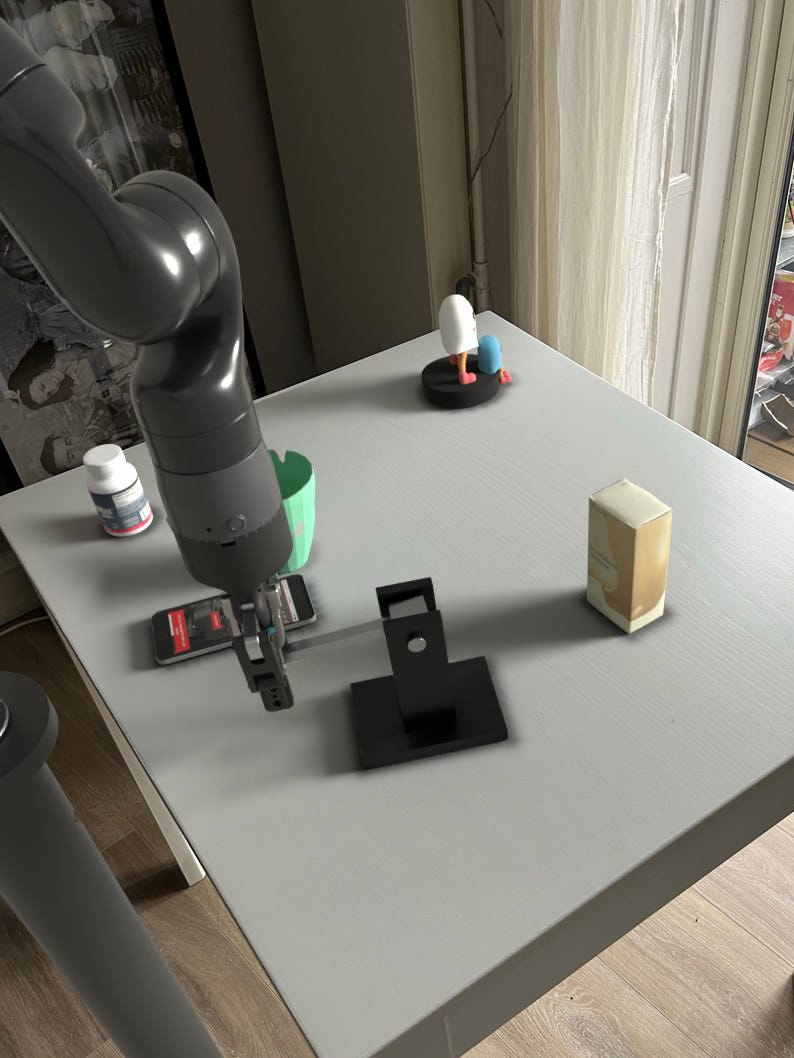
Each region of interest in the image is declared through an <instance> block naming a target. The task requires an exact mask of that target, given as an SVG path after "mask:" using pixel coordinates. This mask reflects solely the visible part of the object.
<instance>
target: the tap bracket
mask: <svg viewBox="0 0 794 1058" xmlns="http://www.w3.org/2000/svg"><path fill="white" fill-rule="evenodd" d="M434 589H435V588H434V582H433V579H432V577H431V576H428V577H422V578H417V579H413V580H407V581H402V582H397V583H391V584H388V585H382V586H381V585H380V586H377V587H375V593H376V598H377V599H376V600H377V603H378V609H379V614H380V618H384V617H387V616H390V611H389V607H388V604H391V603H395V602H398V601H402V600H406V599H409V598H413V597H417V596H420V595H423V596H424V600H425V603H426V607H427V610H428V612H425V613H420V614H415V615H410V616H405V617H400V618H395V619H390V620H385V621H382V623H383V628H384V633H385V636H384V638H385V642H386V647H387V652H388V657H389V662H390V667H391V671H392V674H389V675H384V676H379V677H374V678H369V679H364V680H359V681H355V682H349V687H350V688H349V689H350V694H351V700H352V707H353V712H354V719H355V726H356V733H357V739H358V745H359V751H360V757H361V763H362V767H363V770H364V771H367V770H372V769H376V768H381V767H385V766H391V765H395V764H399V763H404V762H405V763H406V762H408V761H409V762H410V761H412V760H418V759H423V758H428V757H431V756H437V755H442V754H446V753H447V754H448V753H451V752H455V751H460V750H465V749H470V748H474V747H479V746H484V745H488V744H489V745H490V744H493V743H498V742H503V741H508V740H509V731H508V727H507V723H506V719H505V717H504V714H503V711H502V707H501V703H500V700H499V697H498V694H497V691H496V688H495V683H494V681H493V677H492V674H491V671H490V668H489V664H488V661H487V658H486V656H485V655H481V656H476V657H471V658H467V659H462V660H455V661H452V662H450V661H449V655H448V649H447V641H446V634H445V627H444V620H443V615H442V612H441V610H440V609H437V602H436V595H435V590H434Z"/></svg>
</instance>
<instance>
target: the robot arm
mask: <svg viewBox="0 0 794 1058" xmlns="http://www.w3.org/2000/svg"><path fill="white" fill-rule="evenodd" d="M88 122H89V120H88V114H87V111H86V109H85V107H84V105H83V103H82V102H81V99H79V98H78V96H77V95H76V93H75V92H74V91H73V90H72V89H71V88H70V86H68V84H67V83H66V82H65V81H64V79H62V78H61V76H60V75H58V74H57V72H56V71H55V70H54V69H52V67H51V66H49V65H48V64H47V62H46V61H44V59H43V58H41V56H40V55H39V54H38V52H36V51H35V50H34V49H33V48H32V47H31V46H30V45H29V44H28V43H27V42H26V41H25V40H24V39H23V37H21V36H20V35H19V34H18V33H17V32H16V31H15V30H14V29H13V28H12V27H11V25H9V24H8V23H7V22H6V20H4V19H3V17H1V16H0V220H1V221H2V223H3V224H4V226H5V227H6V229H7V230H8V231H9V233H10V234H11V236H12V237H13V238H14V239H15V241H16V242H17V243H18V244H19V246H20V248H21V249H22V250H23V252H24V253H25V255H26V256H27V257H28V259H29V260H30V262H31V263H32V264H33V266H34V267H35V268H36V270H37V271H38V273H39V274H40V275H41V277H42V278H43V280H44V281H45V282H46V284H47V285H48V286H49V288H50V289H51V290H52V291H53V293H54V294H55V295H56V296H57V298H58V299H59V301H61V302H62V303H63V305H64V306H65V307H66V308H67V309H68V310H69V311H70V312H71V313H72V314H73V315H75V316H76V317H77V318H78V319H79V320H80V321H82V322H83V323H84V324H85V325H87V326H88V327H89V328H91V329H92V330H95V331H96V332H98V333H99V334H102V335H103V336H105V337H107V338H109V339H112V340H115V341H117V342H120V343H122V344H126V345H131V346H139V347H141V350H140V354H139V355H138V358H137V360H136V363H135V365H134V368H133V369H132V372H131V375H130V379H129V380H130V381H129V395H130V399H131V404H132V407H133V410H134V413H135V417H136V419H137V422H138V425H139V428H140V431H141V433H142V436H143V440H144V442H145V445H146V448H147V450H148V453H149V456H150V458H151V462H152V465H153V470H154V471H153V472H154V477H155V481H156V487H157V490H158V493H159V496H160V499H161V502H162V505H163V507H164V510H165V514H166V517H167V516H168V519H169V522H170V524H171V527H172V530H173V532H172V533H173V536H174V538H175V541H176V544H177V546H178V549H179V552H180V556H181V558H182V561H183V563H184V566H185V568H186V571H187V573H188V574H189V576H191V578H192V579H194V581H196V582H197V583H199V584H201V585H203V586H205V587H208V588H212V589H216V590H219V591H222V592H220V594H219V595H220V596H221V603H222V607H223V611H224V614H225V616H226V617H227V618H228V619H229V620H230V624H231V628H232V632H233V636H234V637H233V642H232V646H231V649H232V650H234V653H235V655H236V658H237V661H238V663H239V665H240V668H241V670H242V673H243V675H244V677H245V680H246V683H247V688H248V690H250V693H251V694H257V693H259V695H260V698H261V701H262V704H263V707H264V710H265V712H268V713H274V712H280V711H284V710H288V709H292V708H293V707H294V705H295V699H294V694H293V691H292V687H291V684H290V680H289V678H288V674H287V671H288V666H287V663H286V664H285V663H284V659H283V655H282V651H281V647H282V646H283V645H285V644H289V640H288V637H287V634H286V633H287V632H286V631H285V629H284V626H283V622H282V619H281V615H280V613H281V609H280V608H282V606H281V602H280V601H281V600H282V597H281V591H280V584H279V580H278V579H279V574H278V573H277V572H278V571H280V570H281V569H282V568H283V567H284V565H285V564H286V563H287V562H288V560H289V558H290V556H291V554H292V550H293V539H292V535H291V531H290V527H289V523H288V519H287V515H286V512H285V508H284V504H283V500H282V496H281V492H280V488H279V484H278V480H277V476H276V472H275V468H274V465H273V462H272V459H271V456H270V453H269V451H268V447H267V444H266V442H265V440H264V437H263V434H262V431H261V426H260V423H259V419H258V415H257V411H256V407H255V403H254V399H253V396H252V392H251V389H250V386H249V383H248V379H247V377H246V371H245V370H246V369H245V355H244V354H245V351H244V350H245V328H244V325H245V324H244V312H243V311H244V310H243V309H244V308H243V293H242V280H241V271H240V264H239V257H238V253H237V249H236V244H235V240H234V238H233V235H232V232H231V229H230V226H229V224H228V223H227V221H226V219H225V216H224V214H223V213H222V211H221V210H220V208H219V206H218V205H217V203H216V202H215V200H214V199H213V198H212V196H211V195H210V194H209V193H208V192H207V191H206V190H205V189H204V188H203V187H202V186H200V185H199V184H198V183H197V182H195V181H194V180H193V179H191V178H189V177H188V176H186V175H184V174H182V173H178V172H175V171H171V170H166V169H165V170H163V169H157V170H150V171H146V172H144V173H141V174H138V175H136V176H133V177H132V178H130V179H129V180H128V181H126V182H125V183H123V184H122V185H121V186H119V188H117V189H116V190H115V191H113V192H112V193H110V192H109V191H108V190H107V188H106V187H105V186H104V184H102V182H101V181H100V179H99V178H98V177H97V175H96V174H95V172H94V171H93V170H92V168H91V167H90V165H89V164H88V163H87V161H86V159H85V158H84V156H83V155H82V153H81V151H80V150H81V148H82V146H83V144H84V142H85V139H86V136H87V133H88V127H89V123H88ZM172 530H171V531H172ZM241 627H242V628H243V631H244V635H243V632H242V628H241ZM268 628H275V632H274V633H272V634H270V631H269V630H266V629H268ZM264 630H265V631H264ZM10 723H11V714H10V711H9V709H8V707H7V705H6V703H5V702H4V701H3V699H1V696H0V743H1V741H2V740H3V739H4V737H5V736H6V734H7V732H8V730H9V727H10Z"/></svg>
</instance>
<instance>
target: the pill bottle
mask: <svg viewBox="0 0 794 1058" xmlns="http://www.w3.org/2000/svg"><path fill="white" fill-rule="evenodd" d="M82 462H83V465H84V468H85V471H86V472H87V475H86V477H85V485H86V488H87V490H88V493H89V495H90V498H91V500H92V502H93V504H94V508H95V509H96V512H97V514H98V516H99V519H100V521H101V523H102V526H103V529H104V530H105V531H106V533H107V534H108V535H111V536H114V537H123V538H124V537H130V536H133V535H136V534H139V533H141V532H143V531H144V530H146V529H147V528H148V527H149V526H150V525H151V523H152V521H153V518H154V517H153V516H154V515H153V512H152V509H151V507H150V504H149V501H148V499H147V496H146V493H145V491H144V489H143V485H142V483H141V479H140V476H139V475H138V472H137V470H136V468H135V467H134V466H133V464H131V463H129V462H127V461H126V456H125V454H124V452H123V450H122V448H121V446H120V445H118V444H112V443H105V444H101V445H97V446H95V447H92V448H90V449H89V450H88V451H86V452H85V453H84V454H83V457H82Z"/></svg>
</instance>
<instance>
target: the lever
mask: <svg viewBox="0 0 794 1058" xmlns="http://www.w3.org/2000/svg"><path fill="white" fill-rule="evenodd" d="M388 607H389V611H390V616H387V617H384V618H381V617H380V618H376V619H373V620H369V621H366V622H362V623H359V624H355V625H352V626H347V627H343V628H340V629H336V630H332V631H329V632H325V633H321V634H317V635H315V636H311V637H308V638H303V639H300V640H296V641H293V642H288V644H285V645H283V646H282V647H281V651H282V655H283V659H284V663H285V664H286V665H287V664H290V663H294V662H297V661H300V660H304V659H308V658H311V657H315V656H319V655H322V654H325V653H329V652H333V651H336V650H340V649H344V648H347V647H351V646H355V645H358V644H362V643H366V642H369V641H374V640H377V639H381V638H385V633H384V628H383V623H382V621H385V620H390V619H395V618H400V617H405V616H410V615H415V614H420V613H425V612H428V610H427V607H426V603H425V600H424V596H423V595H420V596H417V597H413V598H409V599H406V600H402V601H398V602H395V603H391V604H388ZM266 630H269V631H270V634H272V633H274V632H275V628H268V629H266ZM264 631H265V630H264Z"/></svg>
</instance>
